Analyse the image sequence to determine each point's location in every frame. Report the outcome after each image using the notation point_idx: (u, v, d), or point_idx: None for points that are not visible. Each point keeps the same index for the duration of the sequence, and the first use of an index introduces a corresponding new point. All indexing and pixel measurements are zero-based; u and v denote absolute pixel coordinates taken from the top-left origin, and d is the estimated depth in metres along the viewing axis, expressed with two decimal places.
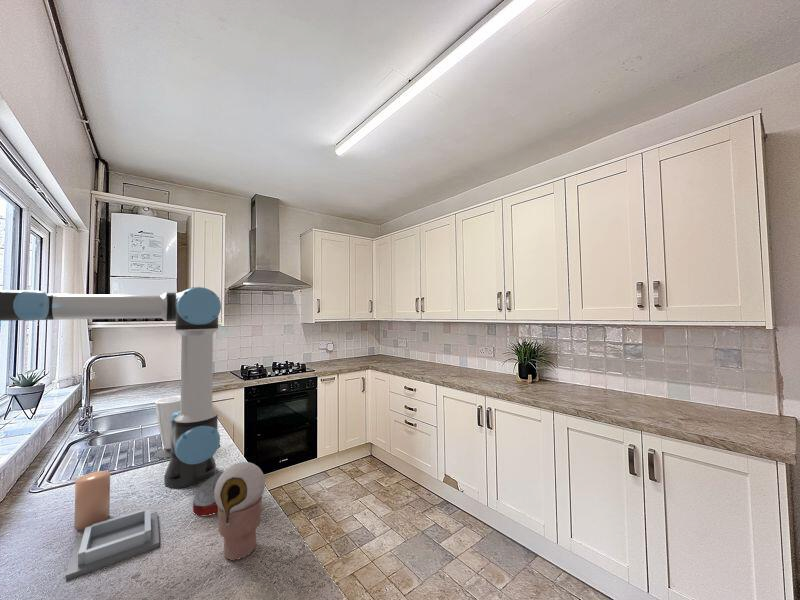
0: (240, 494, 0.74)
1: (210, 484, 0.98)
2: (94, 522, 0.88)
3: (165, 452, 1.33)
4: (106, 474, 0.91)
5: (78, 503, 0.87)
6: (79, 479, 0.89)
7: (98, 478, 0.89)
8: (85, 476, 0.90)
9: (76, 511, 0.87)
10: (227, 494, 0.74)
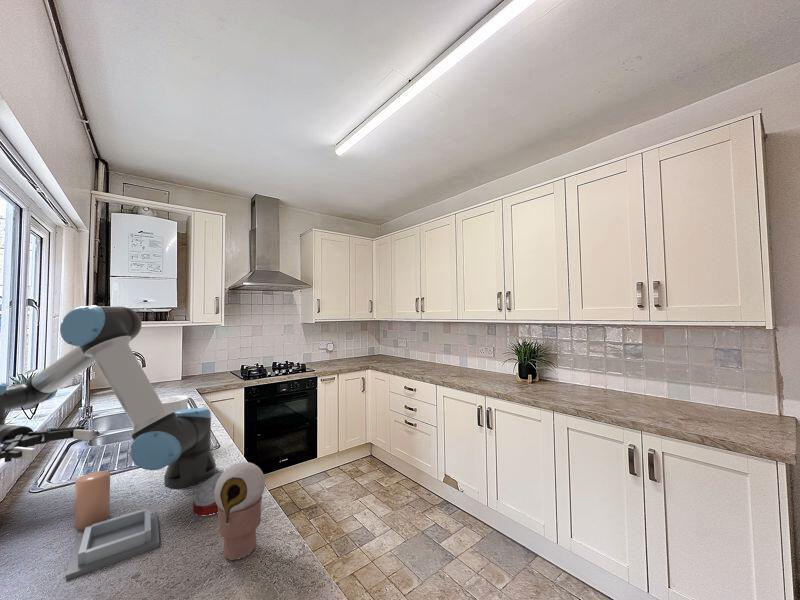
0: (240, 494, 0.74)
1: (210, 484, 0.98)
2: (94, 522, 0.88)
3: None
4: (106, 474, 0.91)
5: (78, 503, 0.87)
6: (79, 479, 0.89)
7: (98, 478, 0.89)
8: (85, 476, 0.90)
9: (76, 511, 0.87)
10: (227, 494, 0.74)
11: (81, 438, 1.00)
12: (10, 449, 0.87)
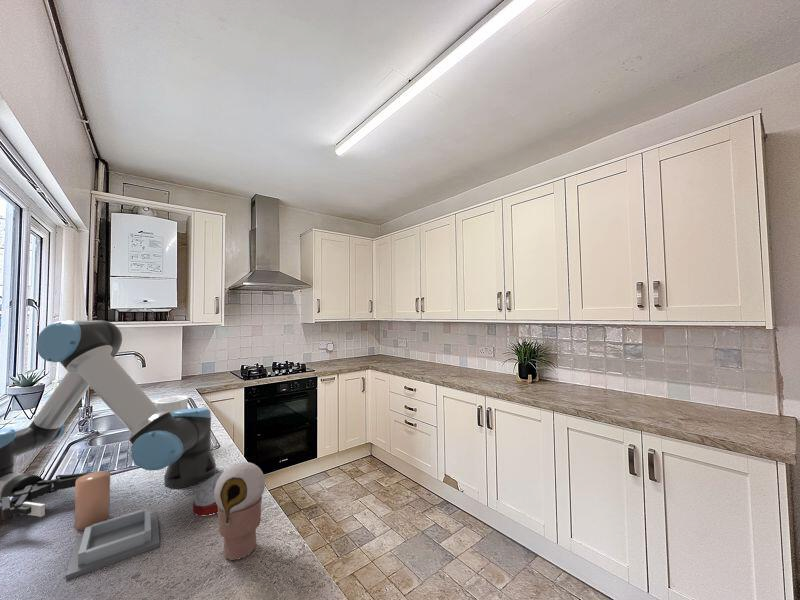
0: (240, 494, 0.74)
1: (210, 484, 0.98)
2: (94, 522, 0.88)
3: None
4: (106, 474, 0.91)
5: (78, 503, 0.87)
6: (80, 479, 0.89)
7: (98, 478, 0.89)
8: (85, 476, 0.90)
9: (76, 511, 0.87)
10: (227, 494, 0.74)
11: None
12: (19, 505, 0.85)
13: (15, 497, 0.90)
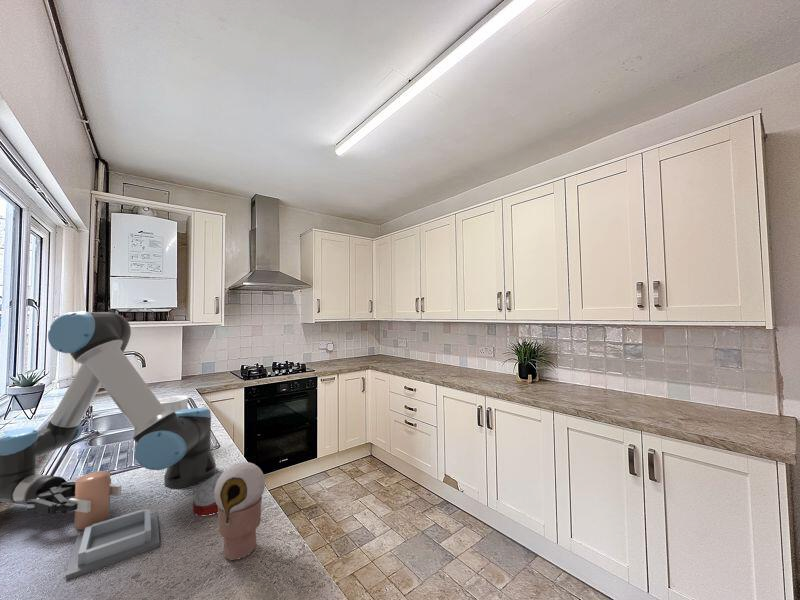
0: (240, 494, 0.74)
1: (210, 484, 0.98)
2: (94, 522, 0.88)
3: None
4: (106, 474, 0.91)
5: None
6: (80, 479, 0.89)
7: (98, 478, 0.89)
8: (85, 476, 0.90)
9: (76, 511, 0.87)
10: (227, 494, 0.74)
11: None
12: (66, 501, 0.86)
13: (42, 499, 0.89)
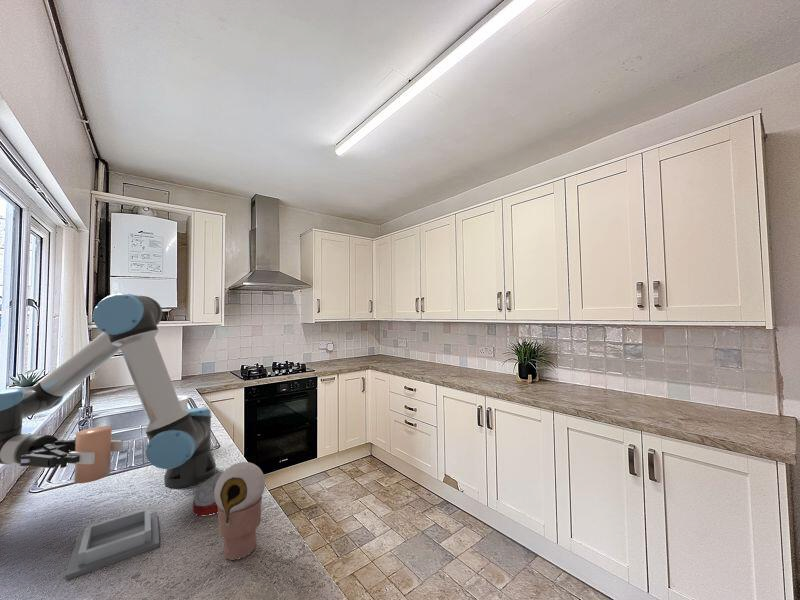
0: (240, 494, 0.74)
1: (210, 484, 0.98)
2: (96, 475, 0.85)
3: None
4: (108, 428, 0.89)
5: None
6: (80, 432, 0.86)
7: (100, 431, 0.87)
8: (84, 430, 0.88)
9: (77, 464, 0.84)
10: (227, 494, 0.74)
11: None
12: (66, 454, 0.83)
13: None
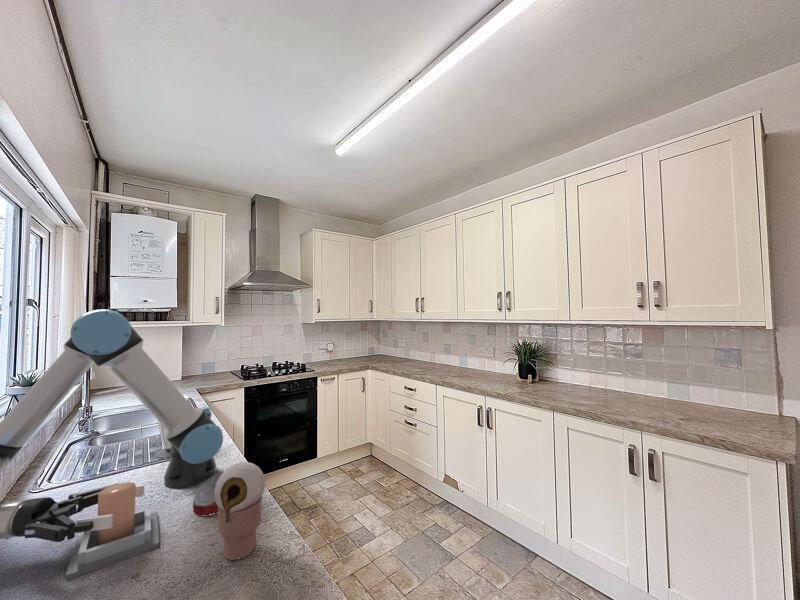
0: (240, 494, 0.74)
1: (210, 484, 0.98)
2: None
3: (165, 452, 1.33)
4: (131, 484, 0.83)
5: None
6: (103, 494, 0.79)
7: (128, 489, 0.81)
8: (105, 491, 0.80)
9: (104, 529, 0.78)
10: (227, 494, 0.74)
11: None
12: (74, 523, 0.73)
13: (42, 522, 0.75)
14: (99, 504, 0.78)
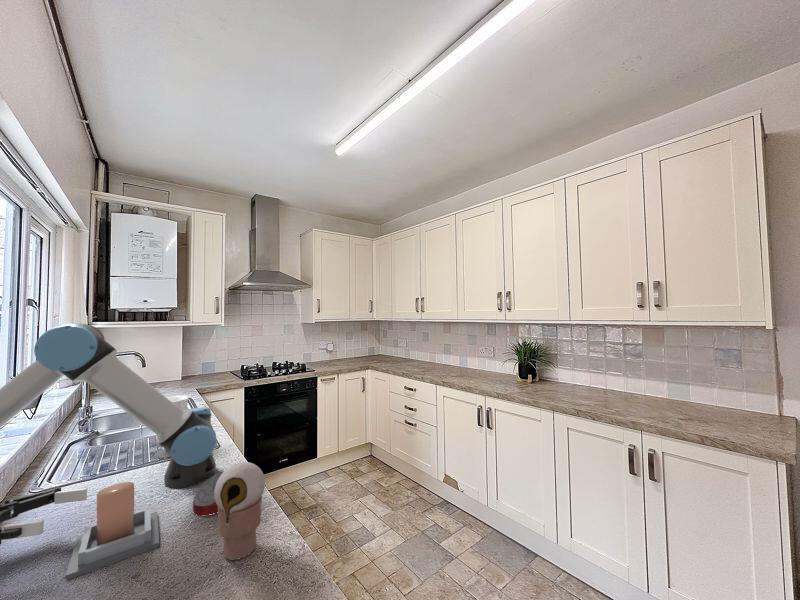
0: (240, 494, 0.74)
1: (210, 484, 0.98)
2: (126, 536, 0.80)
3: (165, 452, 1.33)
4: (130, 484, 0.83)
5: (107, 519, 0.78)
6: (101, 494, 0.79)
7: (126, 488, 0.81)
8: (103, 491, 0.80)
9: (104, 529, 0.78)
10: (227, 494, 0.74)
11: (69, 500, 0.84)
12: (0, 529, 0.70)
13: None
14: (98, 504, 0.78)
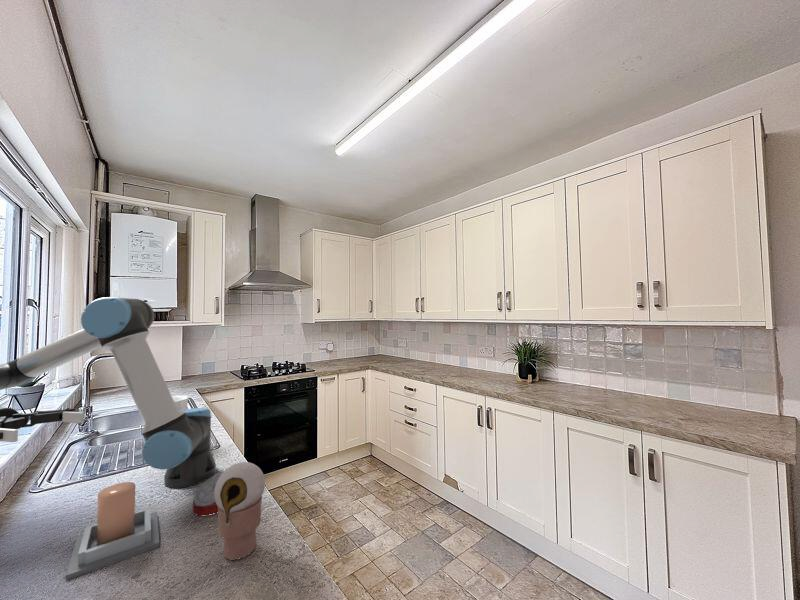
0: (240, 494, 0.74)
1: (210, 484, 0.98)
2: None
3: None
4: (131, 484, 0.83)
5: (109, 519, 0.78)
6: (103, 495, 0.79)
7: (128, 489, 0.81)
8: (104, 492, 0.80)
9: (106, 529, 0.77)
10: (227, 494, 0.74)
11: (71, 421, 0.91)
12: None
13: None
14: (99, 505, 0.78)
